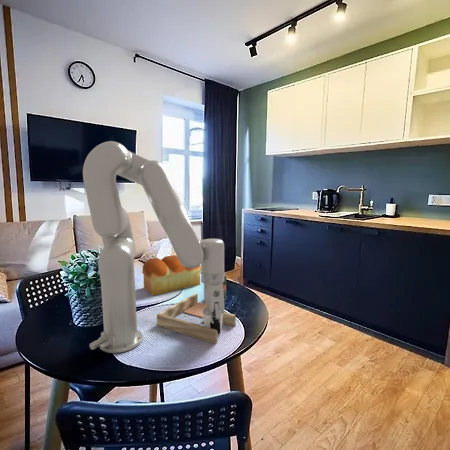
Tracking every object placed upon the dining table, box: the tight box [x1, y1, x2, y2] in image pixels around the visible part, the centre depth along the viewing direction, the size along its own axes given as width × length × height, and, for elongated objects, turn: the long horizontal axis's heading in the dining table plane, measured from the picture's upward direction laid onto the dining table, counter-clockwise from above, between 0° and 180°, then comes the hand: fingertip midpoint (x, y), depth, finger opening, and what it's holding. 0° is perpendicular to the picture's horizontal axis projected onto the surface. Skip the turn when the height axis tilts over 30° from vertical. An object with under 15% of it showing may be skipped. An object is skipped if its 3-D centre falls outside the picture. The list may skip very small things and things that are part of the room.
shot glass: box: [202, 308, 223, 334], centre depth 94 cm, size 7×7×7 cm
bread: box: [142, 254, 201, 296], centre depth 137 cm, size 25×12×15 cm, turn 126°
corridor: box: [156, 293, 237, 345], centre depth 102 cm, size 23×24×4 cm
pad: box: [183, 302, 206, 319], centre depth 110 cm, size 10×10×1 cm
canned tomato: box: [222, 272, 227, 302], centre depth 121 cm, size 8×8×11 cm
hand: (213, 328), depth 95 cm, fingers closed on shot glass, 5 cm apart
